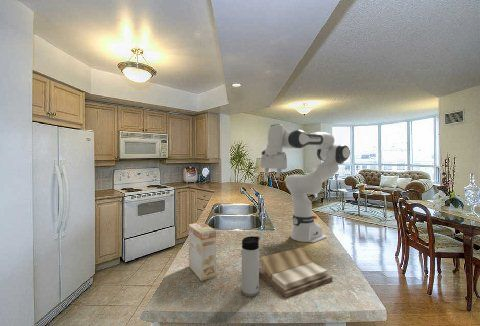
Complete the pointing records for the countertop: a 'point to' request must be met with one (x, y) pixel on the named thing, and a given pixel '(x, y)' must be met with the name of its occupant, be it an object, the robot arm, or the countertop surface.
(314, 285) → the walnut board
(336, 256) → the countertop surface
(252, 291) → the travel mug
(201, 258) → the coffeecake box
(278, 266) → the honey oak plank
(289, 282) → the pale ash plank
